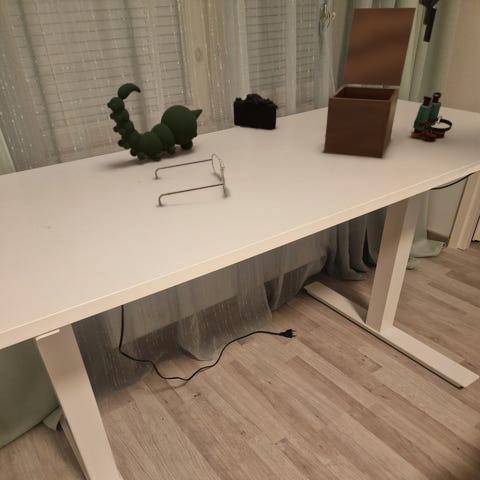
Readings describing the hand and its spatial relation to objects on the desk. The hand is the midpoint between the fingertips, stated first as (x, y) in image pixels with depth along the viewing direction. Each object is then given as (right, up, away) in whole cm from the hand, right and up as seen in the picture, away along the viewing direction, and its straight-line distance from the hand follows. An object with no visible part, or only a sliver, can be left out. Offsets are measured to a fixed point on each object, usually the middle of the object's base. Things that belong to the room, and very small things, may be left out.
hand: (454, 41), depth 103 cm
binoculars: (+1, -17, +15) cm, 23 cm away
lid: (-17, +1, +4) cm, 18 cm away
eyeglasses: (-63, -39, -9) cm, 74 cm away
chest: (-21, -21, +11) cm, 31 cm away
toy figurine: (-72, -24, +9) cm, 76 cm away
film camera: (-46, -6, +31) cm, 56 cm away
